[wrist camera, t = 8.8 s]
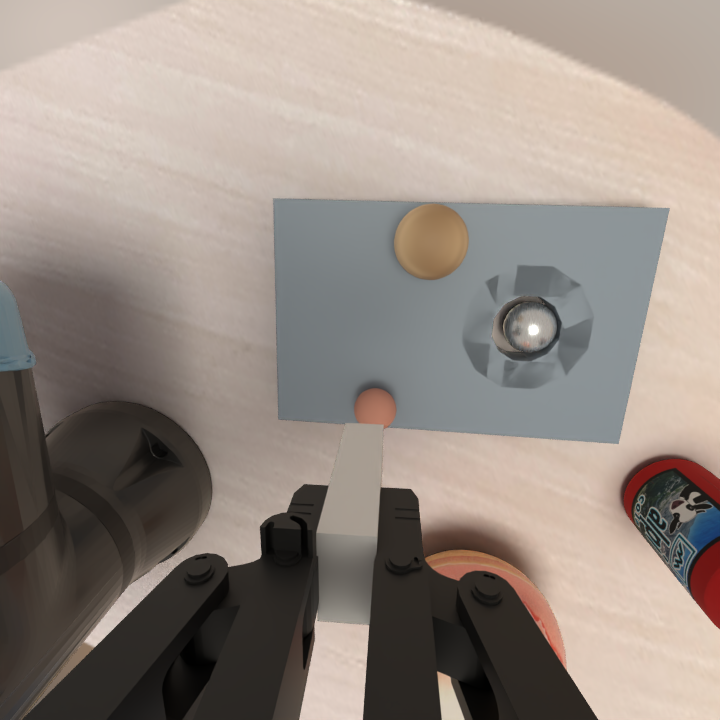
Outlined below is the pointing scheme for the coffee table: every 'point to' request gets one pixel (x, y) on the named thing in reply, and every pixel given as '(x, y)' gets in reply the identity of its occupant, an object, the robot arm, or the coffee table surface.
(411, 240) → the wooden ball
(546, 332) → the steel ball
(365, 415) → the rubber ball
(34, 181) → the coffee table surface
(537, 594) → the vase
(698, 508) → the beverage can
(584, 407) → the plate
